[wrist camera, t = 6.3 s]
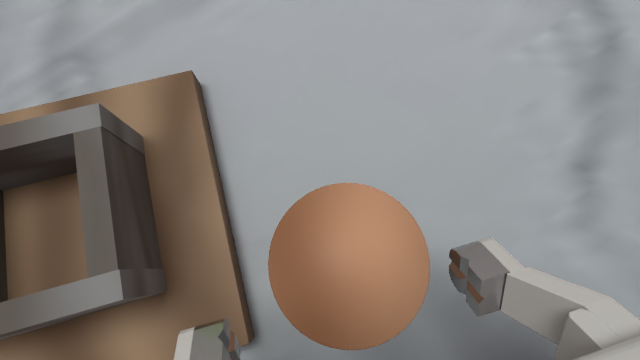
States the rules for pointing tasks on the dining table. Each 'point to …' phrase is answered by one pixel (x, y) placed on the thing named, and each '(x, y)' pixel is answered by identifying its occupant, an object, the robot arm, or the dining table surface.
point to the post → (349, 266)
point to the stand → (114, 226)
